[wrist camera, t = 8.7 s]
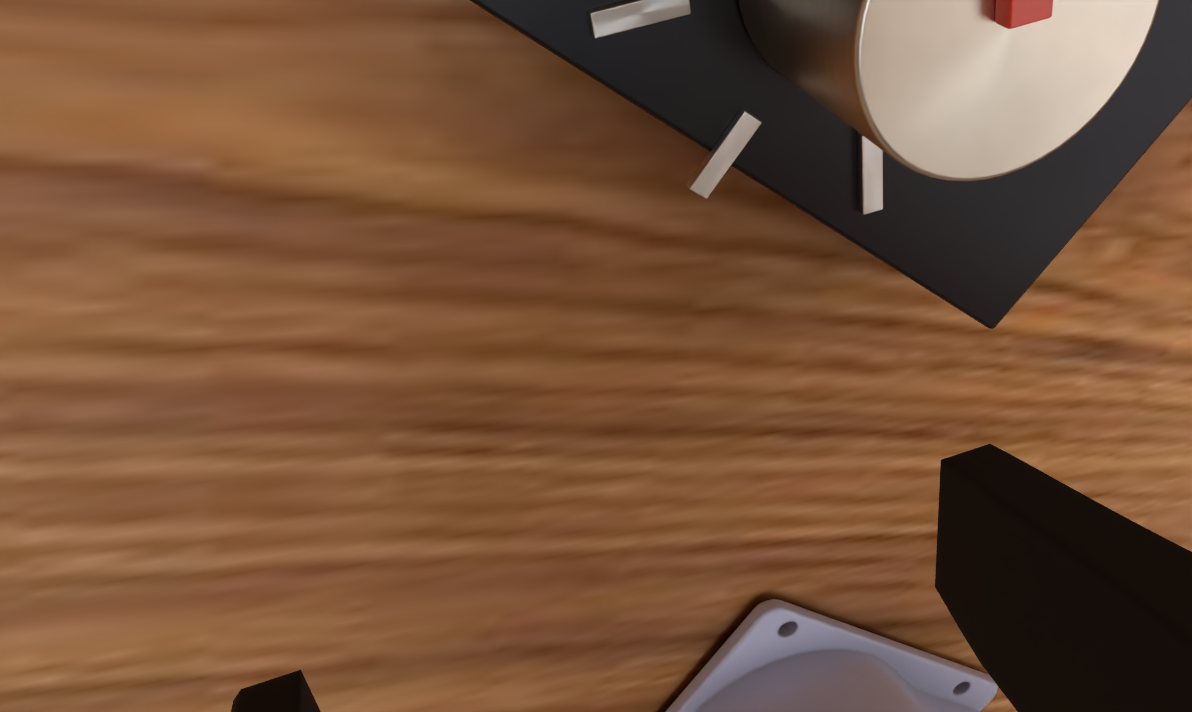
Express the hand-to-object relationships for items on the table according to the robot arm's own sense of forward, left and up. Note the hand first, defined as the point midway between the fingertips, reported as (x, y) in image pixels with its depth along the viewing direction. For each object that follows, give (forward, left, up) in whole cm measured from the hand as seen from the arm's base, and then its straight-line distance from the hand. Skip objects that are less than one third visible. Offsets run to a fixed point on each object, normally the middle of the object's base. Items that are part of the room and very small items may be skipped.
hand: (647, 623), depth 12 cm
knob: (-1, -7, -6) cm, 10 cm away
